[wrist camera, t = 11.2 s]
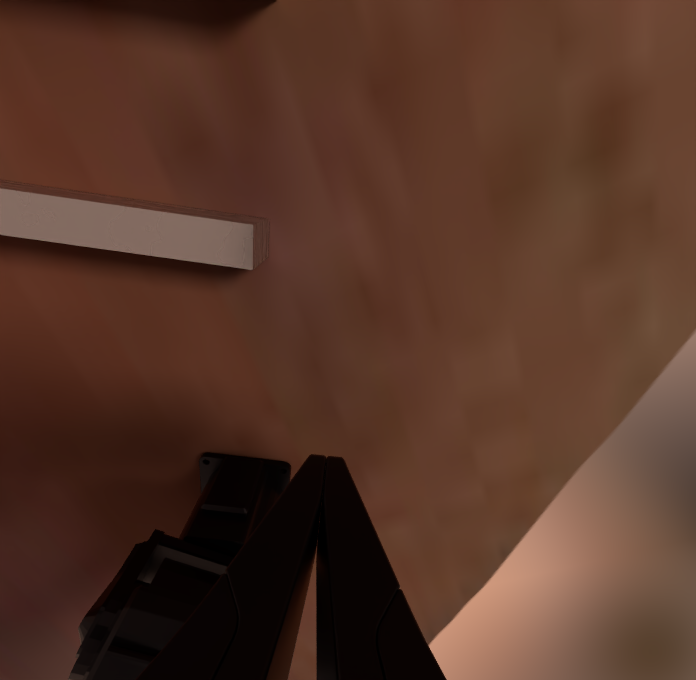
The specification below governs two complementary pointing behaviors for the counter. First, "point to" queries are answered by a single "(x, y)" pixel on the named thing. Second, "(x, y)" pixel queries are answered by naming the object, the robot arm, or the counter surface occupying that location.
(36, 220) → the chute
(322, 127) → the counter surface
